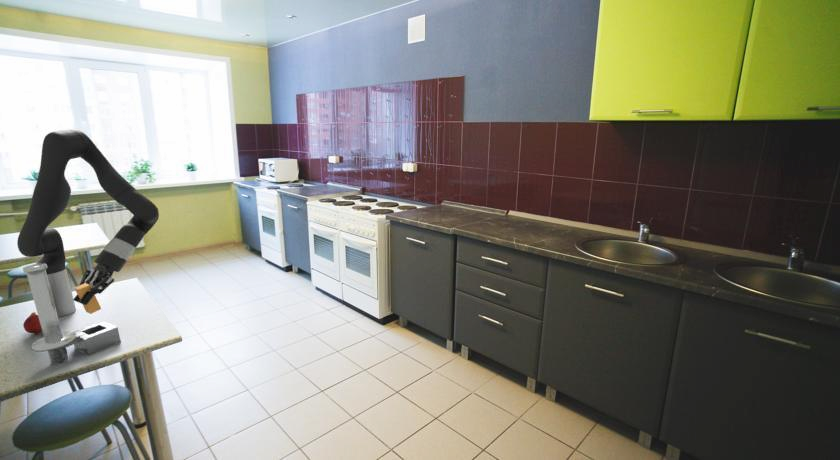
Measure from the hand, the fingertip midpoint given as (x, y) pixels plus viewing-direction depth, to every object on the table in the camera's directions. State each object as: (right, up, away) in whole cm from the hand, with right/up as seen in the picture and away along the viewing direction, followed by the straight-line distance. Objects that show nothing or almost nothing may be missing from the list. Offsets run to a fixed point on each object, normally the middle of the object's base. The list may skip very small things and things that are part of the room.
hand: (79, 302), depth 123 cm
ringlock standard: (-1, -16, +1) cm, 16 cm away
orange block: (+1, -3, +4) cm, 5 cm away
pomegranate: (-26, -13, +13) cm, 32 cm away
